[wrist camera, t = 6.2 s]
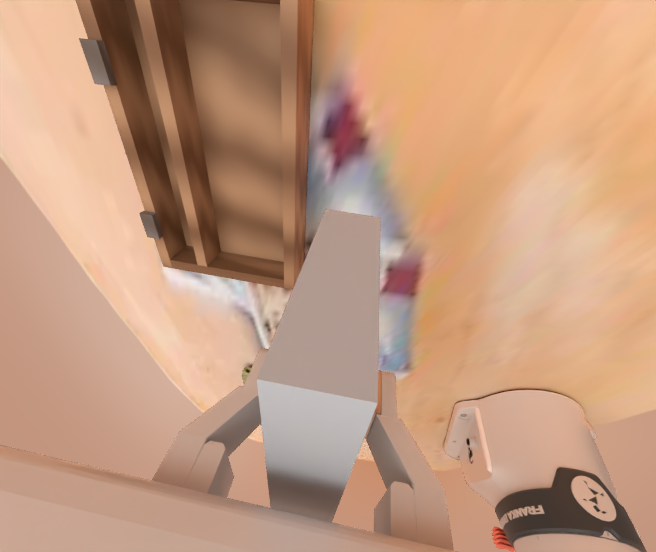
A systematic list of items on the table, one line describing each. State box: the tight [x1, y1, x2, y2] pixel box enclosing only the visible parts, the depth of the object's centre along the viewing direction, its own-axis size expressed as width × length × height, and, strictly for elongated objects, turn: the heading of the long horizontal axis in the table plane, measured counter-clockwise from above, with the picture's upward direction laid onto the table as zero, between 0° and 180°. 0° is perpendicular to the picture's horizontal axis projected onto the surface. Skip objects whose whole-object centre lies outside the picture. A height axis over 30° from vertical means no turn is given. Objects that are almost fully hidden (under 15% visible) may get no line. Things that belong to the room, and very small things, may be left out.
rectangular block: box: [257, 209, 381, 522], centre depth 10 cm, size 10×2×7 cm, turn 175°
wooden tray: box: [76, 0, 314, 289], centre depth 23 cm, size 22×14×5 cm, turn 175°
